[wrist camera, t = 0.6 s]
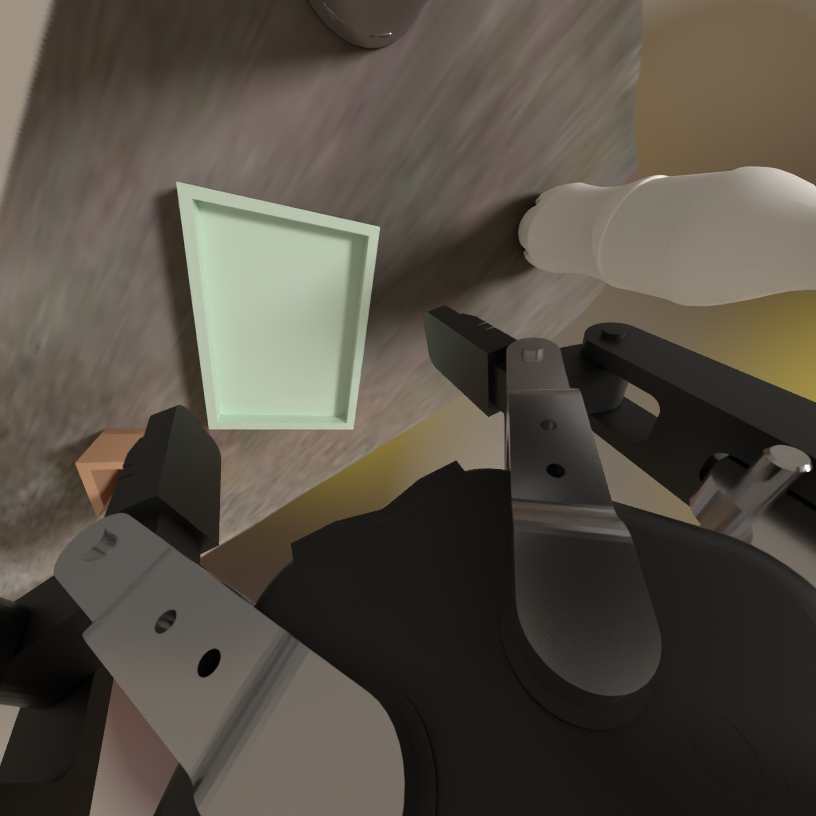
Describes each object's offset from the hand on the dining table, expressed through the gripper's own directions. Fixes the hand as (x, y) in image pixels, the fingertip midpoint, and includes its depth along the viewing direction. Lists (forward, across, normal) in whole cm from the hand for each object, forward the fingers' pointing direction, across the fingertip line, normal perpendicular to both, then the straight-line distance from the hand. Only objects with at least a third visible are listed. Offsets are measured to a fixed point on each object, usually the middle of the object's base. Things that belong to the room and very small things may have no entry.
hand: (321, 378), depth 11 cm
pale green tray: (+22, +1, +6) cm, 22 cm away
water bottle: (+18, -26, +4) cm, 32 cm away
